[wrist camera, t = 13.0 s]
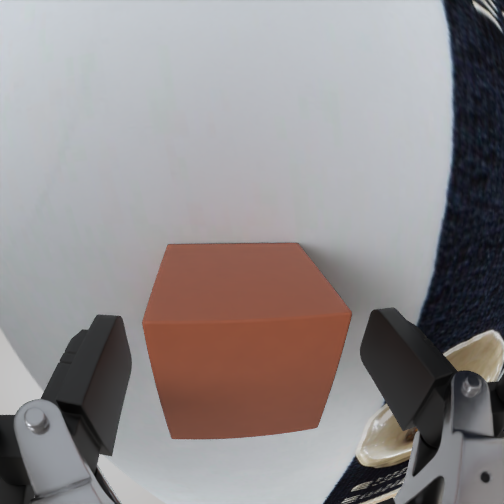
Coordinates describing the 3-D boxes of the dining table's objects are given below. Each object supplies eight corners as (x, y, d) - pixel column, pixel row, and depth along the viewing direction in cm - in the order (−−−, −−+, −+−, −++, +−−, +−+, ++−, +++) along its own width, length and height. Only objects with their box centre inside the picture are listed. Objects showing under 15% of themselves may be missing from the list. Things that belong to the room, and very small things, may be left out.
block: (177, 348, 11) (171, 439, 7) (167, 243, 9) (140, 321, 5) (286, 343, 12) (317, 428, 8) (298, 242, 10) (353, 312, 6)
